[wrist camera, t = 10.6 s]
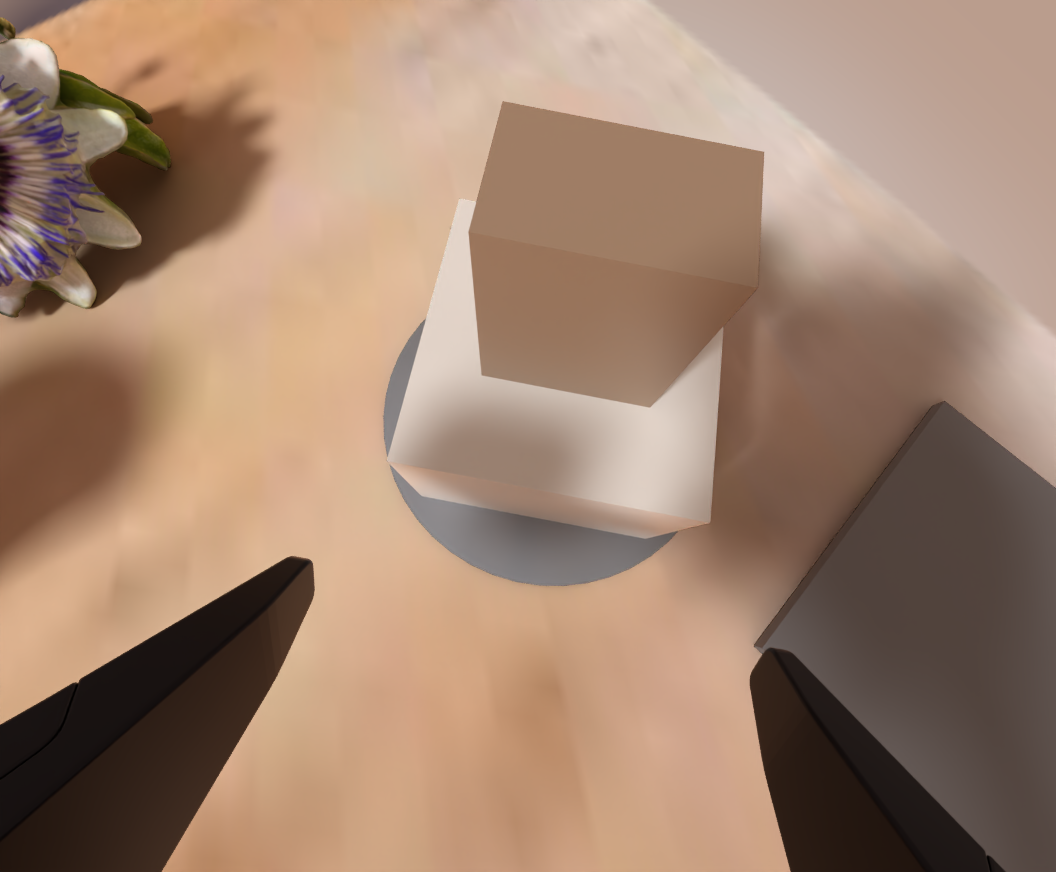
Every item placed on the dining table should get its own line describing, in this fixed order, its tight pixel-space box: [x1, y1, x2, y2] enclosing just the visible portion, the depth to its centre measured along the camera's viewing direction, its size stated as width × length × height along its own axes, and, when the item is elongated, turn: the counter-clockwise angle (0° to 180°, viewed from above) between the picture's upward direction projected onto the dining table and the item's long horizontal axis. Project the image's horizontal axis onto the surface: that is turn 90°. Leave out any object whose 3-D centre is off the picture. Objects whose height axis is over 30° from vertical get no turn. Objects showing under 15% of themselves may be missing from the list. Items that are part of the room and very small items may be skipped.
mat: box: [754, 401, 1056, 872], centre depth 18 cm, size 14×14×1 cm
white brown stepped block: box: [387, 101, 764, 539], centre depth 14 cm, size 9×9×12 cm
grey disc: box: [384, 319, 678, 586], centre depth 18 cm, size 14×14×4 cm
